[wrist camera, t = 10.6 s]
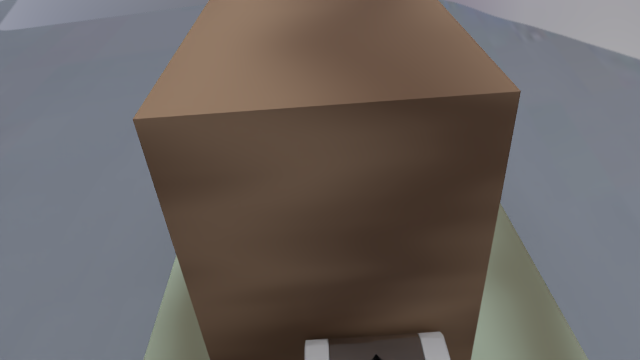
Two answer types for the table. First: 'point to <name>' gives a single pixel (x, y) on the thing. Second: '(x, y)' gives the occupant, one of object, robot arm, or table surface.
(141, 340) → the table surface
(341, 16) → the walnut block
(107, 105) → the table surface
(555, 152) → the table surface
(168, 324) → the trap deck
